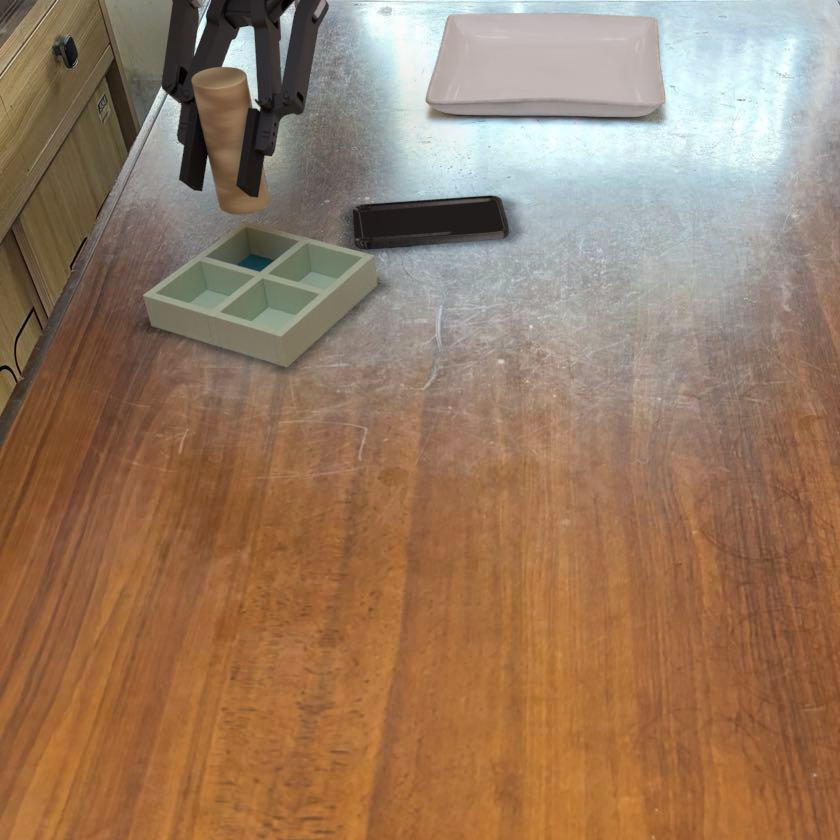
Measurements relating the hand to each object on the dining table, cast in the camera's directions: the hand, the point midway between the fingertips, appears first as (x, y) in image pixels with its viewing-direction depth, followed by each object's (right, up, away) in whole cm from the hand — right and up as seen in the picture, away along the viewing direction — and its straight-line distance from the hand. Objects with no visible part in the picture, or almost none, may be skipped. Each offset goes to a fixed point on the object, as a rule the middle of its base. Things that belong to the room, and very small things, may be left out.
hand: (218, 188), depth 92 cm
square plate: (+28, +27, +44) cm, 58 cm away
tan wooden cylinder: (+1, 0, +5) cm, 5 cm away
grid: (+2, -9, +7) cm, 12 cm away
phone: (+16, +1, +18) cm, 24 cm away
